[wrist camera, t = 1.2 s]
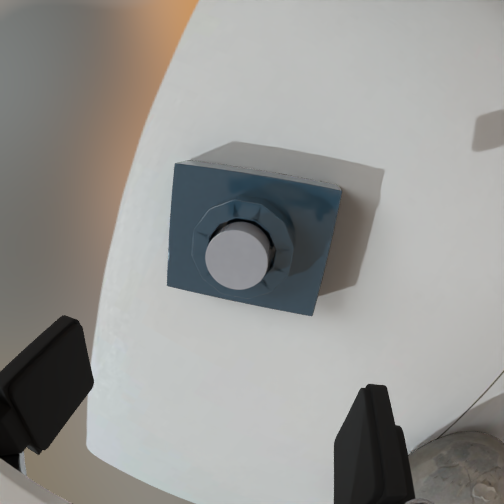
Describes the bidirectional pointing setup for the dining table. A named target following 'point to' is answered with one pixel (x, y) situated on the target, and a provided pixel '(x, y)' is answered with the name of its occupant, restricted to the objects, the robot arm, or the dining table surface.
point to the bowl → (460, 469)
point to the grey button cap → (238, 255)
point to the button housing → (261, 215)
